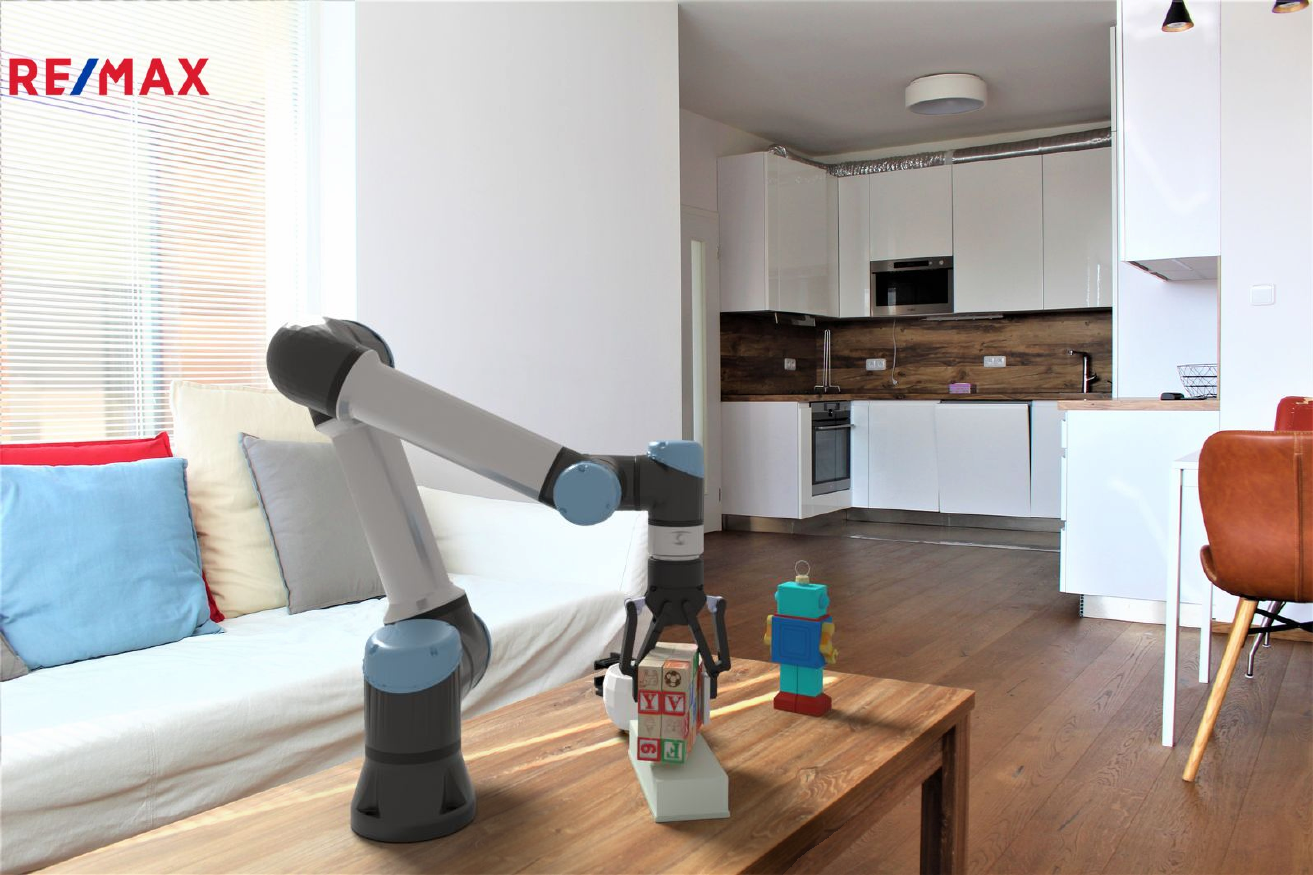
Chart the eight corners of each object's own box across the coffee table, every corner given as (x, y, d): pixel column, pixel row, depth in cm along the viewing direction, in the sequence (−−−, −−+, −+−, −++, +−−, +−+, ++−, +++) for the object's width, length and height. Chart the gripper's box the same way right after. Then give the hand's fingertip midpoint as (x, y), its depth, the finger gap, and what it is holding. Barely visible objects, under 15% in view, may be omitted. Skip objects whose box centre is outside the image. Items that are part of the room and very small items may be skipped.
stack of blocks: (665, 709, 151) (667, 626, 150) (708, 712, 150) (709, 628, 149) (636, 760, 130) (637, 664, 129) (685, 764, 129) (686, 666, 128)
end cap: (660, 698, 178) (660, 660, 178) (629, 707, 174) (629, 667, 173) (623, 686, 186) (623, 649, 185) (592, 694, 181) (592, 655, 181)
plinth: (655, 822, 127) (655, 782, 126) (627, 753, 151) (627, 719, 150) (729, 817, 128) (730, 777, 128) (690, 750, 152) (691, 716, 152)
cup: (662, 714, 169) (663, 656, 169) (695, 738, 158) (695, 675, 157) (592, 724, 164) (592, 664, 164) (620, 748, 153) (620, 684, 152)
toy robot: (841, 710, 172) (842, 560, 171) (826, 719, 167) (828, 566, 166) (778, 698, 178) (779, 554, 177) (762, 707, 173) (763, 559, 172)
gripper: (602, 561, 133) (602, 736, 134) (757, 558, 136) (755, 729, 137) (596, 552, 140) (595, 718, 141) (743, 549, 143) (741, 712, 144)
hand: (674, 723), depth 139 cm, fingers closed on stack of blocks, 8 cm apart
